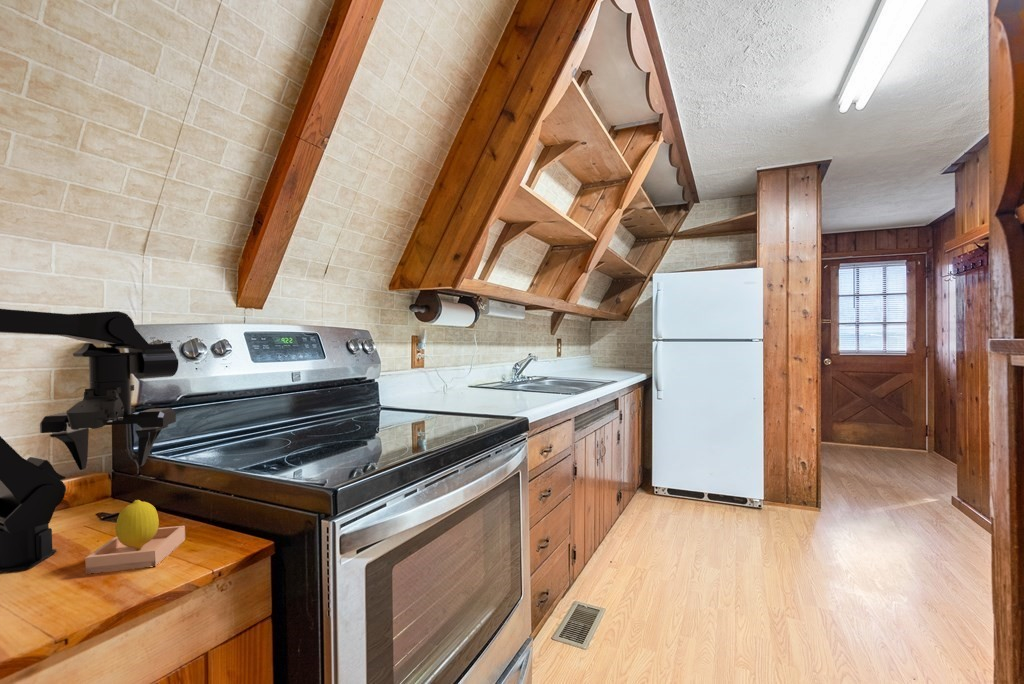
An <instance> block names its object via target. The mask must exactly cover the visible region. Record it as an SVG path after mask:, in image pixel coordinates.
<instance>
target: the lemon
mask: <svg viewBox="0 0 1024 684" xmlns="http://www.w3.org/2000/svg"><path fill="white" fill-rule="evenodd" d="M158 514H159V513H158V512H157V509H156V507H155V506H154V505H153V504H151V503H149V502H147V501H141V500H140V499H135V500H134V501H133V502H132V503H130V504H128V505H126V506H125V507H124V508H123V509H121V511H120V513H119V514H118V516H117V519H116V524H115V533H116V536H117V537H118V540H119V541H120V542H121V543H122V544H123V545H125V546H128V547H133V548H134V549H136V550H138V549H141V548H142V547H143V545H144V544H146V543H148V542H149V541H150V540H152V538H153V537H154V536H155V534H156V533H157V530H158V528H159V527H160V526H159V524H160V521H159V515H158Z"/></svg>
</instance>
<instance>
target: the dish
mask: <svg viewBox="0 0 1024 684" xmlns="http://www.w3.org/2000/svg"><path fill="white" fill-rule="evenodd" d="M185 540H186V526H185V525H177V526H176V525H175V526H166V527H158V530H157V533H156V534H155V536H154V537H153V538H152V540H150V541H149V542H148V543H146V544H144V545H143V547H142V548H141V549H138V550H136V549H134V548H133V547H128V546H125V545H123V544H122V543H121V542H120V541H119V540H118V537H117V535H116V536H114V537H113V538H112V539H110V540H109V541H107V542H106V543H104V544H103V545H101V546H100V547H99V548H97V549H96V550H95V551H93V552H91V553H90V554H89V555H87V556H86V557H85V558H84V560H85V561H84V562H85V575H92V574H91V573H94V574H100V573H101V572H103V573H112V572H119V570H122V571H127V570H126V569H132V570H136V569H135V568H141V569H145V568H144V567H150V566H156V565H157V564H158V563H159V564H160V562H161V561H162V560H163V559H164V558H165V557H166V556H167V557H168V556H169V555H170V554H172V553H173V552H174V551H175V550H176V549H177V548H178V547H180V546H181V544H182V543H183V542H184V541H185ZM172 551H173V552H172ZM167 557H166V558H167ZM166 558H165V559H166ZM165 559H164V560H165ZM164 560H163V561H164ZM163 561H162V562H163ZM162 562H161V563H162ZM159 564H158V565H159ZM158 565H157V566H158ZM157 566H156V567H157ZM101 574H102V573H101Z"/></svg>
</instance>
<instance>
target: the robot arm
mask: <svg viewBox="0 0 1024 684" xmlns="http://www.w3.org/2000/svg"><path fill="white" fill-rule="evenodd" d="M0 334H17V335H18V334H19V335H20V334H21V335H40V336H42V335H43V336H44V335H45V336H57V337H64V338H69V339H73V340H76V341H80V342H81V341H82V342H85V343H84V344H83V345H82V347H80V348H79V349H78V350H76V351H75V352H73V353H72V356H73V357H75V358H88V379H89V380H88V381H89V388H84V392H83V399H82V400H81V401H78V402H76V403H75V404H74V405H73V406H71V407H70V408H69V409H68V410H66V411H65V412H60V413H59V412H58V413H53V414H50V415H46V416H44V417H43V418H42V419H41V421H40V423H39V433H40V434H48V436H49V437H50V438H56V439H57V440H59V441H60V442H63V444H64V445H65V446H66V447H67V449H68V451H69V452H70V455H71V456H72V458H73V460H74V462H75V464H76V465H77V468H78V469H79V470H80V471H83V470H86V468H87V464H88V454H89V453H88V452H89V431H90V430H89V429H92V430H96V429H101V428H103V427H105V426H117V425H135V424H136V425H138V426H139V429H135V434H136V435H137V438H138V444H137V445H138V446H137V447H138V448H137V449H138V450H137V462H138V466H139V467H142V466H144V465H145V464H146V462H147V459H148V457H149V455H150V452H151V451H152V447H153V446H154V444H155V441H156V440H157V439H158V436H159V435H160V433H161V431H162V430H164V429H167V428H169V425H171V424H174V423H176V422H177V417H176V414H177V413H176V411H175V410H174V409H173V407H164V408H149V409H145V410H142V411H139V412H138V413H135V412H136V408H135V406H132V398H131V397H132V395H131V394H132V393H131V392H133V391H135V385H134V384H131V375H133V376H134V378H136V379H138V380H141V379H142V380H143V379H157V378H170V377H173V376H175V375H176V373H177V371H178V369H179V358H177V354H176V353H175V351H174V350H173V348H172V343H171V342H156V343H150V344H149V343H148V341H147V340H146V339H145V338H144V337H143V336H142V335H141V334H140V332H139V331H138V330H137V329H136V327H135V323H134V321H133V318H131V317H130V316H129V315H128V313H126V312H122V311H98V312H86V313H85V312H84V313H83V312H82V313H60V312H59V313H58V312H49V311H48V312H47V311H46V312H45V311H33V310H22V309H11V308H10V309H9V308H0ZM87 342H88V343H87ZM94 344H100V345H101V344H103V345H107V346H105V347H104V346H102V347H101V346H100V347H99V346H98V347H97V346H96V345H94ZM121 349H128V352H120V350H121ZM65 479H66V476H65V475H61V474H59V473H58V472H57V471H56V470H55V468H54V467H53V464H52V463H50V461H49V460H48V459H42V458H37V457H35V456H33V457H32V456H29V457H27V459H25V458H24V457H22V456H21V455H20V454H19V453H18V452H17V451H16V450H15V449H14V448H13V447H12V446H11V445H10V444H9V443H8V442H7V441H6V440H5V439H4V438H3V437H2V436H1V435H0V573H3V572H4V573H6V572H13V571H14V572H15V571H26V570H28V569H31V568H33V567H34V566H36V565H38V564H39V563H41V562H43V561H44V560H47V559H48V558H49V557H51V556H52V555H54V554H56V553H57V549H56V548H53V530H52V527H50V526H49V525H50V523H51V520H52V518H53V515H54V513H55V510H56V509H57V507H58V506H59V505H60V504H61V503H62V501H63V500H64V498H65V496H66V495H65V494H66V491H67V485H66V484H65V483H64V481H63V480H65Z"/></svg>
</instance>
